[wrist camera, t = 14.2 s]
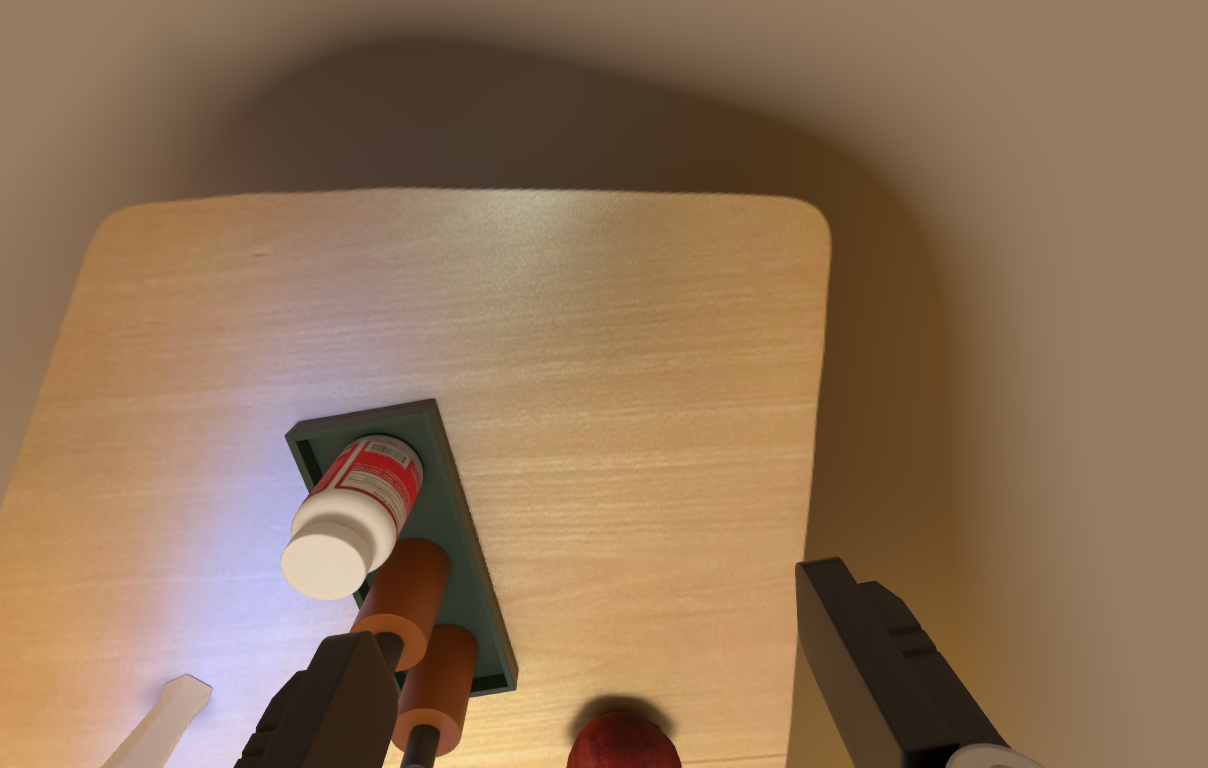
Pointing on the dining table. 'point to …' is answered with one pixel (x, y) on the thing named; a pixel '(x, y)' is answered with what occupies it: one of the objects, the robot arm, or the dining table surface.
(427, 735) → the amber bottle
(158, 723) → the white faceted vase
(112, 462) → the dining table surface
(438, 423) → the tray
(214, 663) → the dining table surface
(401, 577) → the amber bottle middle
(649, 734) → the fruit
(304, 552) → the pill bottle
